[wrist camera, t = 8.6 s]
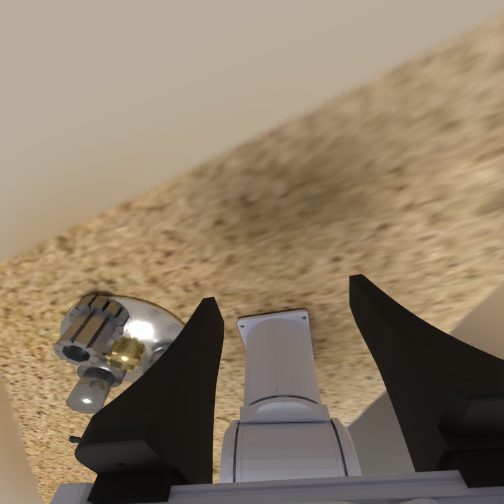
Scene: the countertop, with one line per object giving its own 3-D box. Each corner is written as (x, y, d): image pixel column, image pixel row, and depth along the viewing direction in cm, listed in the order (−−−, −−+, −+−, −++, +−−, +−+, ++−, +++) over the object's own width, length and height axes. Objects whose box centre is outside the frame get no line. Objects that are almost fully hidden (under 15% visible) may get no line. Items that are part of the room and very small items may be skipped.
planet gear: (138, 327, 28) (117, 367, 24) (95, 333, 29) (67, 373, 25) (114, 291, 25) (85, 330, 21) (67, 299, 26) (30, 338, 22)
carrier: (211, 372, 34) (204, 417, 29) (107, 384, 36) (84, 428, 31) (166, 285, 26) (146, 328, 21) (33, 307, 28) (-13, 350, 23)
